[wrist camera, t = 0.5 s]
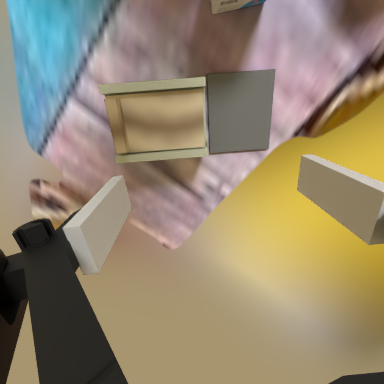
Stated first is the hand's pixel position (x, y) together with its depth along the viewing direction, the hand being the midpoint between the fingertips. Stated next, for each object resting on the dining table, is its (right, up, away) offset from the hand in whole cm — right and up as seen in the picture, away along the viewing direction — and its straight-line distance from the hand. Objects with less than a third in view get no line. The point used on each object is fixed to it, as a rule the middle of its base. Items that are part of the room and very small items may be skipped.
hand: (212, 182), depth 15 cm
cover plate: (-7, +11, +19) cm, 23 cm away
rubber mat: (+8, +14, +23) cm, 28 cm away
